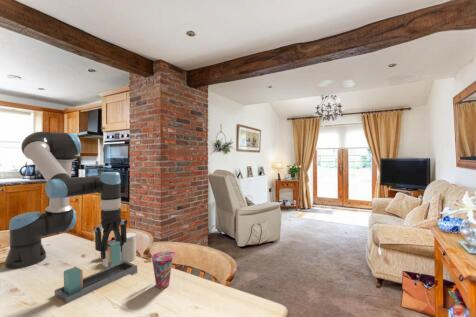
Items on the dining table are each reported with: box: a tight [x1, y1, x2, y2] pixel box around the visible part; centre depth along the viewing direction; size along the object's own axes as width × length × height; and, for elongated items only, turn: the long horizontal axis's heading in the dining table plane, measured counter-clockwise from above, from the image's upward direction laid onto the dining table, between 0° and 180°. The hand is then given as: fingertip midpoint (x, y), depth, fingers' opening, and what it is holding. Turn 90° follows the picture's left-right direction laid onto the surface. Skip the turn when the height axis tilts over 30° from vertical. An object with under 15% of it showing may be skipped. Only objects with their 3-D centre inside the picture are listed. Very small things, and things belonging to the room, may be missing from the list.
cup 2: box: [150, 251, 176, 289], centre depth 97 cm, size 9×8×12 cm
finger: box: [106, 240, 121, 267], centre depth 101 cm, size 4×5×9 cm
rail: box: [54, 261, 138, 305], centre depth 98 cm, size 9×28×3 cm, turn 148°
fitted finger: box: [63, 266, 84, 295], centre depth 89 cm, size 4×5×9 cm
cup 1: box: [120, 232, 137, 263], centre depth 121 cm, size 8×8×12 cm
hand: (111, 263), depth 102 cm, fingers closed on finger, 5 cm apart
